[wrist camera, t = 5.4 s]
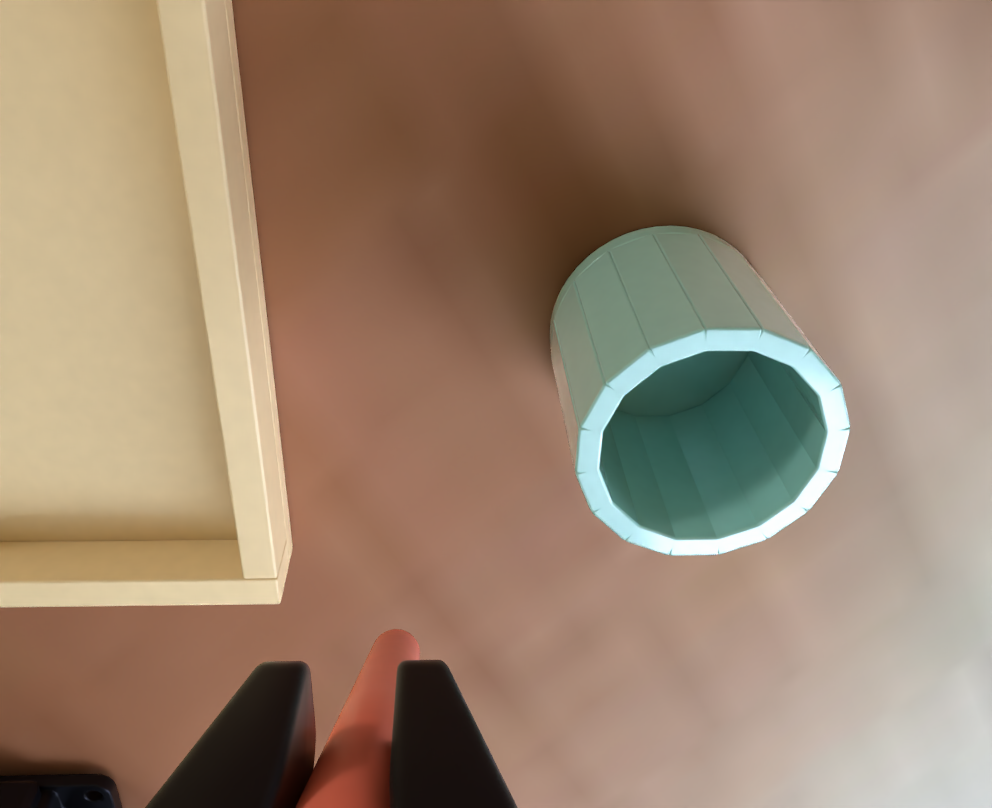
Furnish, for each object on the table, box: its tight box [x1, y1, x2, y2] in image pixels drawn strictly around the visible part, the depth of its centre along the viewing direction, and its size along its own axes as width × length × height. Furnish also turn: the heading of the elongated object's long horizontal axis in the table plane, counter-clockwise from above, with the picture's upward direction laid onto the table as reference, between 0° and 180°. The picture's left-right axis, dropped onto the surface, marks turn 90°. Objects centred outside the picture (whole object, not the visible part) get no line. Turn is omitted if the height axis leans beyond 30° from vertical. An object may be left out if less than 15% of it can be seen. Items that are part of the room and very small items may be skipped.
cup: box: [550, 226, 850, 556], centre depth 18 cm, size 5×5×5 cm
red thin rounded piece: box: [295, 629, 420, 808], centre depth 10 cm, size 7×1×10 cm, turn 178°
